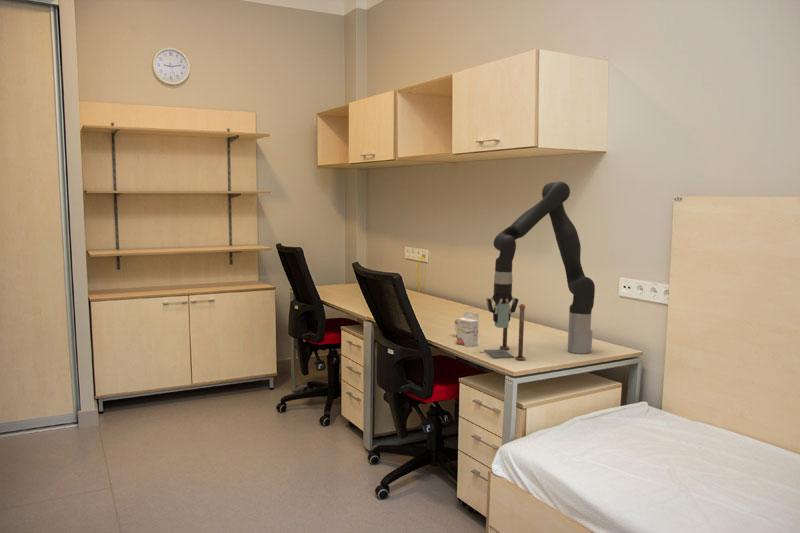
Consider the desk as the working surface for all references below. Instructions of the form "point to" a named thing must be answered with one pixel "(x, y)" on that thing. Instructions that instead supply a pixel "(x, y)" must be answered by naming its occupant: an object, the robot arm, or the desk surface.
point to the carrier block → (503, 316)
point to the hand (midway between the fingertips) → (501, 322)
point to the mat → (498, 354)
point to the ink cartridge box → (468, 330)
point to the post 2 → (521, 334)
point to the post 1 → (504, 340)
